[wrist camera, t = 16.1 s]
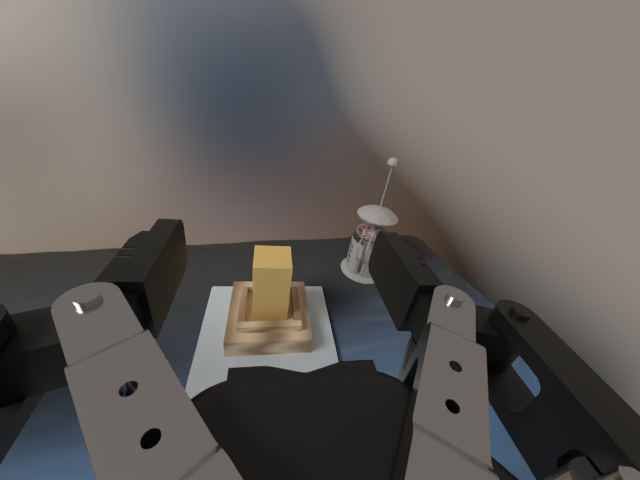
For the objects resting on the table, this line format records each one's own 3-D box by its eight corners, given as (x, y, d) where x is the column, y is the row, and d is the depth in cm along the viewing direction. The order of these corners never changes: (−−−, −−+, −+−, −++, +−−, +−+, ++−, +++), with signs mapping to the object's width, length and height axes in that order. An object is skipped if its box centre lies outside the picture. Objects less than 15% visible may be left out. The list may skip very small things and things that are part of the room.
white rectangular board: (141, 568, 22) (138, 566, 21) (212, 290, 48) (212, 286, 47) (371, 523, 26) (374, 520, 25) (321, 290, 52) (321, 286, 51)
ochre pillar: (252, 321, 39) (252, 268, 33) (254, 296, 43) (254, 245, 37) (286, 320, 40) (292, 268, 34) (285, 296, 44) (290, 246, 38)
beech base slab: (224, 356, 37) (222, 337, 34) (234, 294, 47) (233, 276, 44) (310, 352, 39) (313, 334, 37) (302, 294, 49) (304, 276, 47)
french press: (388, 265, 62) (426, 159, 49) (375, 295, 53) (417, 174, 40) (349, 251, 65) (374, 146, 52) (330, 277, 56) (355, 158, 42)
